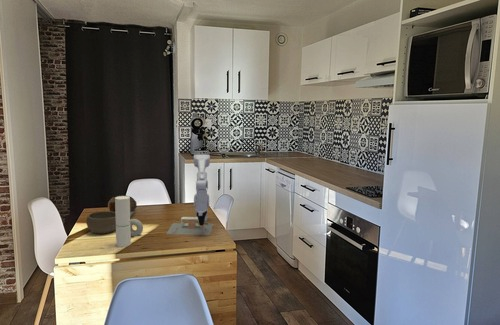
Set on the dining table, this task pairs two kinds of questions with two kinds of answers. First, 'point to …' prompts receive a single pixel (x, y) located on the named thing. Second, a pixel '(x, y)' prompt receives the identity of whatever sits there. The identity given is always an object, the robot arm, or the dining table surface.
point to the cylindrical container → (122, 221)
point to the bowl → (101, 222)
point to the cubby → (184, 229)
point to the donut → (137, 224)
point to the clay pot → (112, 205)
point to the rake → (202, 225)
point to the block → (191, 224)
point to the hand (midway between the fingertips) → (201, 224)
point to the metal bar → (174, 230)
